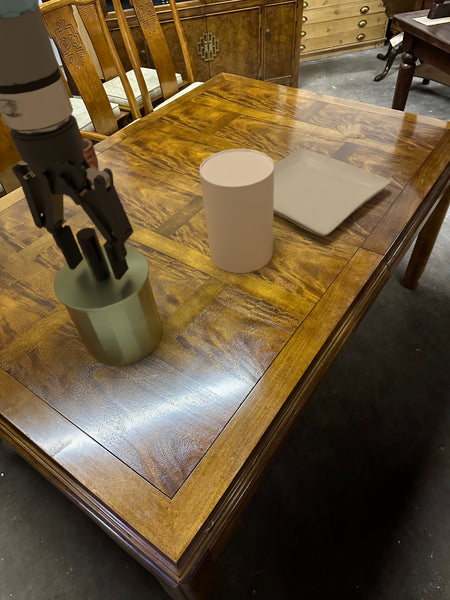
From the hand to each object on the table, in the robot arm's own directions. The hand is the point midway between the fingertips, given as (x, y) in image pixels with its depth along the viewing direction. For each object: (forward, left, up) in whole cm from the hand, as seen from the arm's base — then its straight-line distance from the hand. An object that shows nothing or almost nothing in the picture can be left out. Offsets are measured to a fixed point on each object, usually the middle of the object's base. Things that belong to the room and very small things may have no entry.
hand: (99, 268), depth 64 cm
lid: (0, 0, -2) cm, 2 cm away
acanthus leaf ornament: (+27, +88, -17) cm, 94 cm away
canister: (+13, +28, -17) cm, 35 cm away
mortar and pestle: (-35, +40, -17) cm, 56 cm away
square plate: (+23, +52, -17) cm, 59 cm away
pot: (0, 0, -16) cm, 16 cm away
